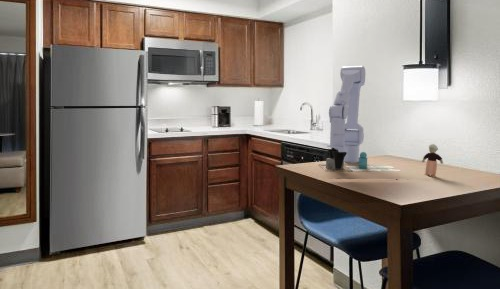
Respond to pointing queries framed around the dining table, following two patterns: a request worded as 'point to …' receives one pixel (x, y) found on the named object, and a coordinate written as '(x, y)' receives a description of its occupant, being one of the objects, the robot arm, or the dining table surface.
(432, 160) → the grandmother figurine
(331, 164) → the grey symbol block
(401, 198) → the dining table surface
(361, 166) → the pawn
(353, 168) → the board
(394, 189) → the dining table surface
